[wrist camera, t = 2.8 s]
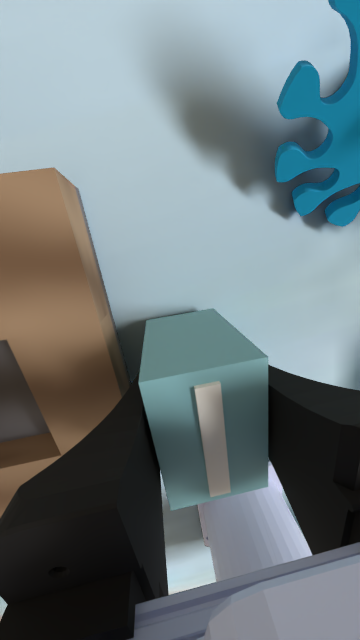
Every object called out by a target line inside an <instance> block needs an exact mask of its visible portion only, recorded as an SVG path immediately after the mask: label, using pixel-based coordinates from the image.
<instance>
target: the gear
mask: <svg viewBox="0 0 360 640" xmlns="http://www.w3.org/2000/svg"><path fill="white" fill-rule="evenodd" d="M328 1H329V4H330V6H331V7H332V9H334V10H335V11H337V12H338V13H340V14H341V16H342V17H343V18H344V20H345V21H346V24H347V26H348V29H349V33H350V39H351V54H350V67H349V72H348V75H347V77H346V79H345V81H344V83H343V84H342V86H341V87H340V88H339V89H338V91H336V92H335V93H334V94H333V95H331V96H329V97H327V98H321V97H320V79H319V74H318V72H317V70H316V69H315V68H314V67H313V65H312V64H311V63H310V62H308V61H299V62H298V63H297V64H296V65H295V67H294V68H293V70H292V71H291V73H290V75H289V76H288V78H287V80H286V82H285V85H284V87H283V89H282V91H281V94H280V96H279V99H278V102H277V105H278V108H279V111H280V113H281V115H282V116H283V117H284V118H286V119H295V118H299V117H313V118H316V119H318V120H321V121H322V122H323V123H324V124H325V125H326V126H327V127H328V134H327V137H326V139H325V141H324V142H323V143H322V144H321V145H320V146H319V147H318V148H317V149H315V150H312V151H305V150H303V149H302V148H301V147H300V146H299V145H298V144H297V143H296V142H286V143H284V144H282V145H280V146H279V148H278V150H277V153H276V158H275V176H276V181H277V182H287V181H289V180H291V179H293V178H294V177H296V176H297V175H299V174H301V173H303V172H305V171H308V170H311V169H315V168H335V170H334V172H333V174H332V175H331V176H330V177H329V178H328V179H327V180H325V181H323V182H320V183H304V184H301V185H299V186H298V187H296V188H295V189H294V190H293V191H292V198H293V202H294V205H295V208H296V210H297V212H298V213H299V215H300V216H304V215H307V214H309V213H311V212H312V211H313V210H314V209H315V208H316V207H317V206H318V205H319V204H320V203H322V202H323V201H324V200H325V199H327V198H328V197H329V196H331V195H333V194H334V193H336V192H338V191H340V190H342V189H345V188H347V187H350V186H352V185H355V184H360V0H328ZM359 210H360V186H359V187H358V188H357V189H356V190H355V191H354V192H352V193H351V194H349V195H346V196H344V197H341V198H338V199H336V200H334V201H333V202H331V203H330V204H329V205H328V206H327V208H326V209H325V214H326V217H327V219H328V221H329V222H330V223H332V224H334V225H338V226H346V225H347V224H349V223H350V222H352V221H353V220H354V218H355V217H356V215H357V214H358V212H359Z"/></svg>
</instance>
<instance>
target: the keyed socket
mask: <svg viewBox="0 0 360 640" xmlns="http://www.w3.org/2000/svg"><path fill="white" fill-rule="evenodd" d="M130 386H131V383H130V379H129V375H128V371H127V368H126V364H125V360H124V357H123V353H122V349H121V346H120V342H119V338H118V334H117V331H116V327H115V323H114V320H113V316H112V312H111V308H110V305H109V301H108V297H107V294H106V290H105V286H104V282H103V279H102V275H101V271H100V268H99V264H98V260H97V256H96V253H95V249H94V245H93V242H92V238H91V234H90V230H89V227H88V223H87V219H86V216H85V212H84V208H83V204H82V201H81V197H80V193H79V190H78V188H77V187H75V186H74V185H73V184H72V183H71V182H70V181H69V180H67V179H66V178H65V177H64V176H63V175H62V174H61V173H60V172H58V171H57V170H56V169H55V168H46V169H38V170H29V171H20V172H12V173H3V174H0V518H1V516H2V514H3V513H4V511H5V509H6V508H7V506H8V504H9V502H10V501H11V499H12V498H13V496H14V494H15V493H16V491H17V489H18V488H19V486H21V485H22V484H24V483H25V482H27V481H28V480H29V479H31V478H32V477H34V476H35V475H37V474H38V473H39V472H41V471H42V470H44V469H45V468H46V467H48V466H49V465H51V464H52V463H53V462H55V461H56V460H57V459H59V458H60V457H61V456H63V455H64V454H65V453H66V452H68V451H69V450H70V449H71V448H73V447H74V446H75V445H76V444H77V443H79V442H80V441H81V440H82V439H83V438H84V437H85V436H87V435H88V434H89V433H90V432H91V431H92V430H93V429H94V428H95V427H96V426H97V425H98V424H99V423H100V422H101V421H102V420H103V419H104V418H105V417H106V416H107V415H108V414H109V413H110V412H111V411H112V410H113V408H114V407H115V406H116V405H117V404H118V402H119V401H120V400H121V398H122V397H123V396H124V394H125V393H126V392H127V390H128V389H129V387H130Z"/></svg>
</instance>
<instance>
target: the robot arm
mask: <svg viewBox="0 0 360 640" xmlns="http://www.w3.org/2000/svg"><path fill="white" fill-rule="evenodd" d="M139 374H140V371H139V373H138V375H137V376H136V378H135V380H134V381H133V383H132V384H131V386H130V387H129V389H128V390H127V392H126V393H125V394H124V396H123V397H122V398H121V400H120V401H119V402H118V404H117V405H116V406H115V407H114V408H113V410H112V411H111V412H110V413H109V414H108V415H107V416H106V417H105V418H104V419H103V420H102V421H101V422H100V423H99V424H98V425H97V426H96V427H95V428H94V429H93V430H92V431H91V432H90V433H89V434H88V435H87V436H85V437H84V438H83V439H82V440H81V441H80V442H79V443H77V444H76V445H75V446H74V447H73V448H71V449H70V450H69V451H68V452H66V453H65V454H64V455H63V456H61V457H60V458H59V459H57V460H56V461H55V462H53V463H52V464H51V465H49V466H48V467H46V468H45V469H44V470H42V471H41V472H39V473H38V474H37V475H35V476H34V477H32V478H31V479H29V480H28V481H27V482H25V483H24V484H22V485H21V486H19V488H18V489H17V491H16V493H15V494H14V496H13V498H12V499H11V501H10V502H9V504H8V506H7V508H6V509H5V511H4V513H3V514H2V516H1V518H0V596H1V597H2V598H3V599H4V601H5V602H6V603H7V604H8V605H7V607H6V609H5V612H4V614H3V616H2V619H1V621H0V640H360V391H359V390H353V389H347V388H343V387H338V386H333V385H329V384H325V383H321V382H317V381H313V380H310V379H306V378H303V377H300V376H297V375H294V374H291V373H288V372H285V371H282V370H280V369H277V368H275V367H272V366H270V365H268V458H269V460H270V461H269V462H268V487H266V488H261V489H257V490H253V491H249V492H245V493H241V494H237V495H233V496H229V497H225V498H221V499H217V500H213V501H209V502H205V503H201V504H197V506H198V511H199V517H200V522H201V528H202V533H203V539H204V544H205V546H207V547H210V550H211V556H212V561H213V566H214V571H215V576H216V582H215V583H211V584H208V585H204V586H200V587H197V588H193V589H190V590H186V591H182V592H179V593H175V594H172V595H168V582H167V569H166V556H165V542H164V528H163V513H162V496H161V479H160V466H159V462H158V458H157V454H156V450H155V446H154V442H153V438H152V434H151V430H150V427H149V423H148V419H147V415H146V411H145V407H144V403H143V399H142V395H141V391H140V387H139V383H138V382H139ZM282 487H283V489H284V491H285V494H286V496H287V498H288V500H289V503H290V505H291V507H292V509H293V511H294V514H295V516H296V518H297V520H298V523H299V525H300V527H301V530H302V532H303V534H304V537H305V538H304V537H303V535H302V533H301V531H300V529H299V527H298V525H297V523H296V521H295V520H294V518H293V516H292V514H291V512H290V510H289V508H288V506H287V505H286V503H285V501H284V499H283V497H282ZM305 539H306V540H305ZM306 541H307V542H306Z"/></svg>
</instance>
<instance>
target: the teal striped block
mask: <svg viewBox="0 0 360 640" xmlns="http://www.w3.org/2000/svg"><path fill="white" fill-rule="evenodd" d="M138 383H139V387H140V391H141V395H142V399H143V403H144V407H145V411H146V415H147V419H148V423H149V427H150V430H151V434H152V438H153V442H154V446H155V450H156V454H157V458H158V462H159V466H160V470H161V474H162V478H163V482H164V486H165V490H166V494H167V497H168V501H169V505H170V509H171V511H173V510H177V509H181V508H185V507H189V506H193V505H197V504H201V503H205V502H209V501H213V500H217V499H221V498H225V497H229V496H233V495H237V494H241V493H245V492H249V491H253V490H257V489H261V488H266V487H268V356H267V355H265V354H264V353H263V352H262V351H261V350H260V349H259V348H257V347H256V346H255V345H254V344H253V343H252V342H251V341H250V340H248V339H247V338H246V337H245V336H244V335H243V334H242V333H240V332H239V331H238V330H237V329H236V328H235V327H234V326H232V325H231V324H230V323H229V322H228V321H227V320H226V319H224V318H223V317H222V316H221V315H220V314H219V313H218V312H217V311H215V310H214V309H207V310H202V311H196V312H190V313H185V314H179V315H173V316H168V317H162V318H156V319H151V320H146V327H145V335H144V343H143V350H142V358H141V366H140V374H139V382H138Z"/></svg>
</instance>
